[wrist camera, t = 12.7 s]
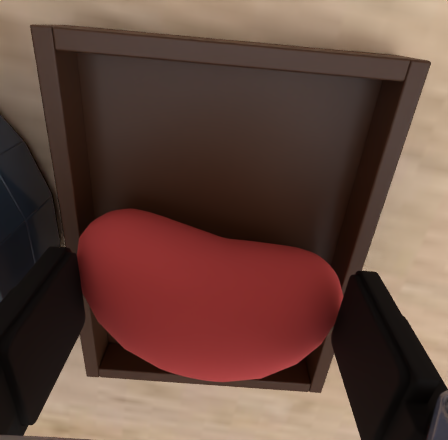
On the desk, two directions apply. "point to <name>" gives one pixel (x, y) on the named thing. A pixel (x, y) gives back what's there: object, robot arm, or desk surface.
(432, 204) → the desk surface
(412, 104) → the tray
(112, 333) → the red kidney bean
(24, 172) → the bowl
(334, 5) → the desk surface
